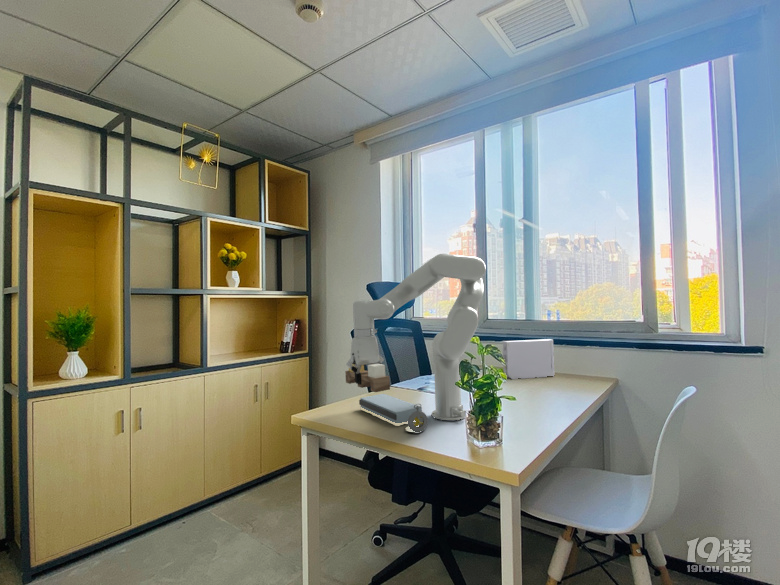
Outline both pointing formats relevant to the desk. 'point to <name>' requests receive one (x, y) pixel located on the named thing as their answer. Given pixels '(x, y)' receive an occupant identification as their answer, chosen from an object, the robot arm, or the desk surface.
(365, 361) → the robot arm
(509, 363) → the game console
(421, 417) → the pocket watch
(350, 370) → the mustard box
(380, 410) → the dock
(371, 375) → the cream box
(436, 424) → the desk surface
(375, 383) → the brown blocks
